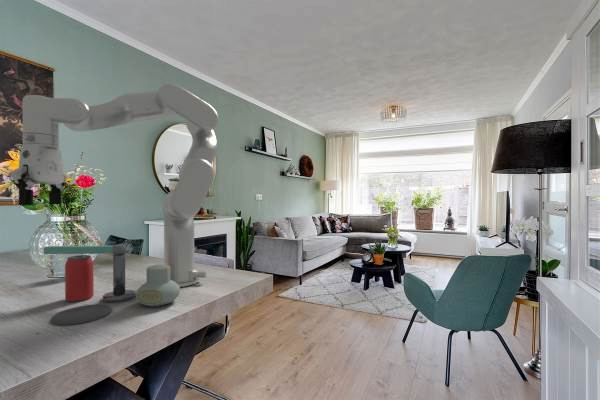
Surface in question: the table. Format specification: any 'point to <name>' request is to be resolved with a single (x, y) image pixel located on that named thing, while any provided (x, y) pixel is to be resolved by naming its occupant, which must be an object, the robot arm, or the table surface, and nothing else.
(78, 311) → the rubber mat
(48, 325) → the table surface
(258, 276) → the table surface
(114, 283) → the clip post
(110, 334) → the table surface
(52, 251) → the bar
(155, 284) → the air freshener
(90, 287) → the beer can
